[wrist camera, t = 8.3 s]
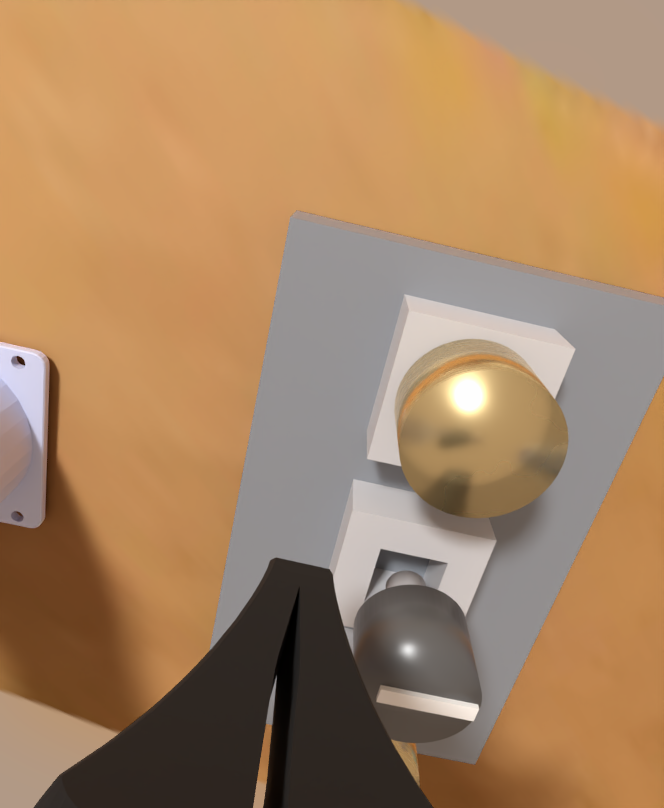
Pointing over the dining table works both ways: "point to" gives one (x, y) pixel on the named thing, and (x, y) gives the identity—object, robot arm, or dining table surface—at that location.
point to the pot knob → (416, 660)
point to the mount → (378, 446)
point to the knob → (478, 429)
